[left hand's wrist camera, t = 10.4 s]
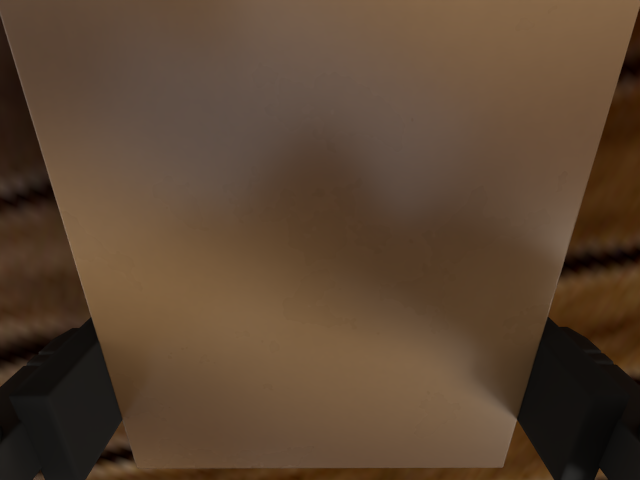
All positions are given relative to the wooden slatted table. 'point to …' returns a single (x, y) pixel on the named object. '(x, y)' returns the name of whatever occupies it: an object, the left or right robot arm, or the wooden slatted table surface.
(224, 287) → the cabinet
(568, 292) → the wooden slatted table surface
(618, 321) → the wooden slatted table surface
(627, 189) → the wooden slatted table surface
